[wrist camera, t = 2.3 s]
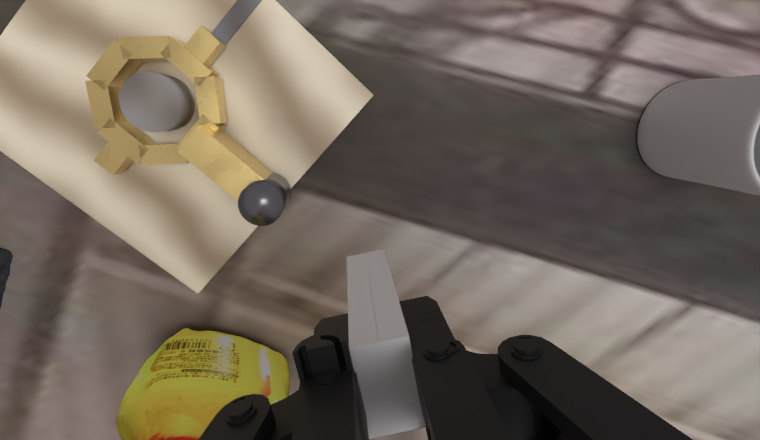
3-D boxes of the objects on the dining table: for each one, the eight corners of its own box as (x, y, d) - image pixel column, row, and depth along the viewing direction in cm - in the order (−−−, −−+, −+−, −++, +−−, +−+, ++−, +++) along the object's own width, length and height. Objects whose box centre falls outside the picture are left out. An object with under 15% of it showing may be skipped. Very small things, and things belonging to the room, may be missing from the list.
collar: (237, 258, 35) (221, 281, 30) (65, 125, 32) (15, 128, 27) (337, 145, 34) (336, 152, 29) (167, -8, 30) (134, -30, 25)
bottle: (302, 336, 40) (266, 548, 21) (287, 394, 41) (239, 642, 22) (171, 309, 38) (-2, 512, 19) (160, 370, 40) (-13, 617, 20)
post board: (205, 284, 38) (185, 310, 33) (-31, 111, 33) (-96, 111, 28) (371, 96, 35) (376, 93, 30) (142, -126, 30) (103, -171, 25)
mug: (616, 143, 38) (722, 156, 27) (680, 59, 37) (818, 39, 26) (706, 214, 40) (835, 251, 30) (769, 138, 39) (928, 148, 28)
